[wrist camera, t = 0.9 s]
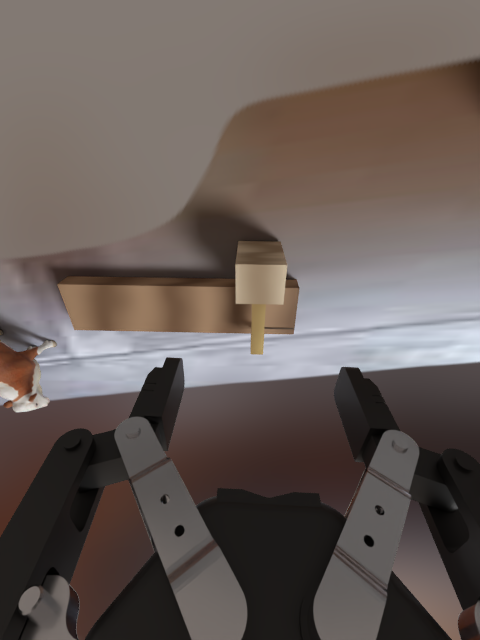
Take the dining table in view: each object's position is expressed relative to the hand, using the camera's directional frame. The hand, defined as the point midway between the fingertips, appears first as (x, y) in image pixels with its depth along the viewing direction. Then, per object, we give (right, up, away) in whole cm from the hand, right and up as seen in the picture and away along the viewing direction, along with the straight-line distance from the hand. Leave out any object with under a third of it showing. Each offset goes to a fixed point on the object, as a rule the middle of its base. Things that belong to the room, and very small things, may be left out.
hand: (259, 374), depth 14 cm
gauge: (+1, +6, +15) cm, 16 cm away
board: (-7, +5, +16) cm, 19 cm away
